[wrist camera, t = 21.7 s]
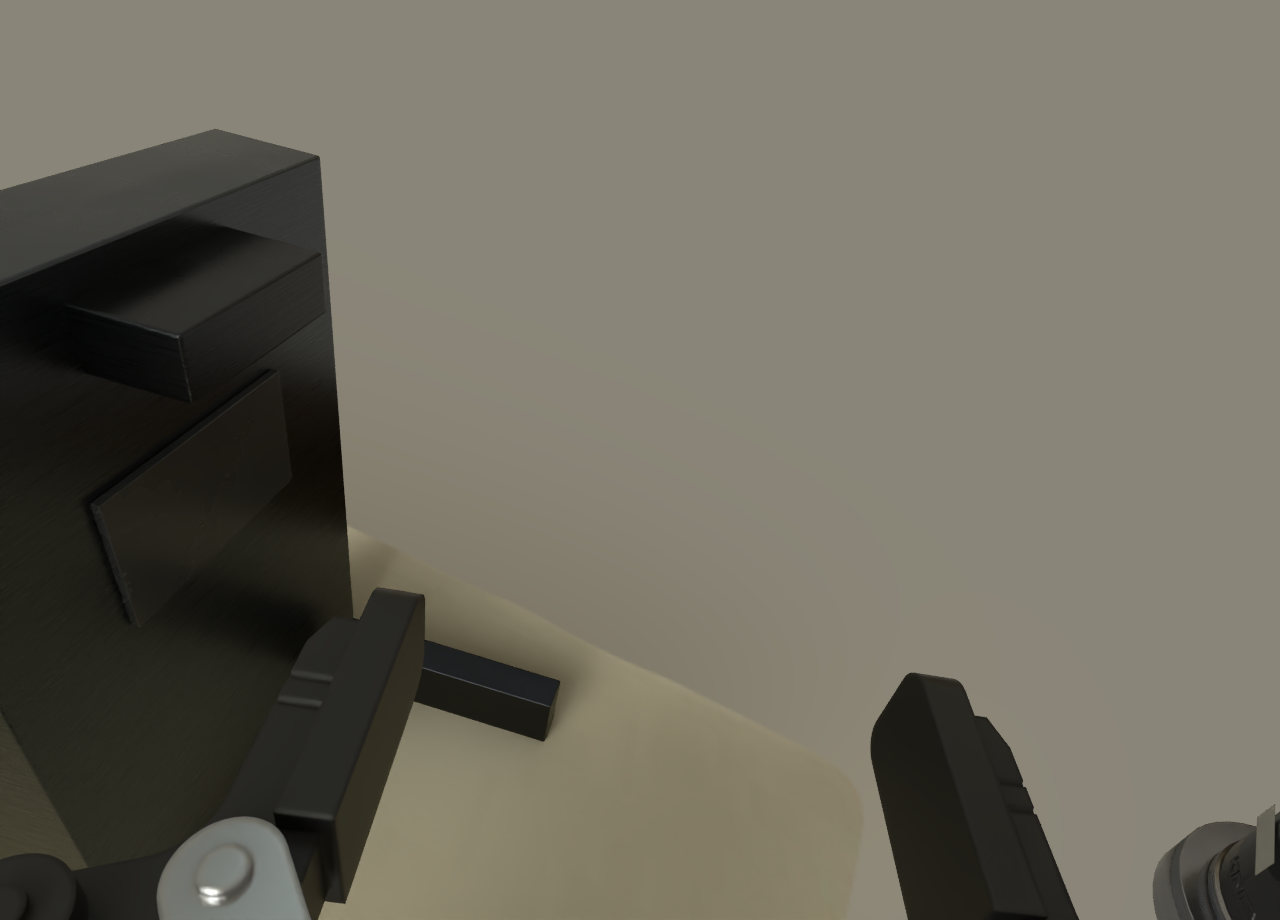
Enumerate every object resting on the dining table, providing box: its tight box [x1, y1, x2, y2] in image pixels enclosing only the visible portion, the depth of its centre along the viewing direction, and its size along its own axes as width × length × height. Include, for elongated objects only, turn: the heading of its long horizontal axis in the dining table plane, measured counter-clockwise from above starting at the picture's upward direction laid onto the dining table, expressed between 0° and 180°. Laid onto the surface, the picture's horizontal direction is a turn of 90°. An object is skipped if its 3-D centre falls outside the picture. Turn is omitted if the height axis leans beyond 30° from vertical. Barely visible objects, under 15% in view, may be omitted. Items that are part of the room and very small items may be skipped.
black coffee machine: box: [0, 129, 560, 871], centre depth 26 cm, size 16×16×25 cm
